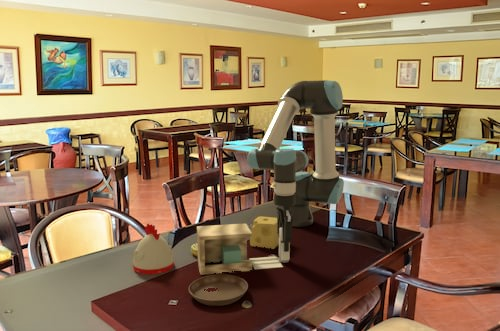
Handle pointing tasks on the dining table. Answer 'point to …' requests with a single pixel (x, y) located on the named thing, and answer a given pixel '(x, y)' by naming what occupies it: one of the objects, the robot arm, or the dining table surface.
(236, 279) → the plant saucer
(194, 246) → the decorated donut
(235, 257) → the block
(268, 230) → the cheese
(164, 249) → the kitchen timer
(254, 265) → the mat
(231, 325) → the dining table surface
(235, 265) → the box
